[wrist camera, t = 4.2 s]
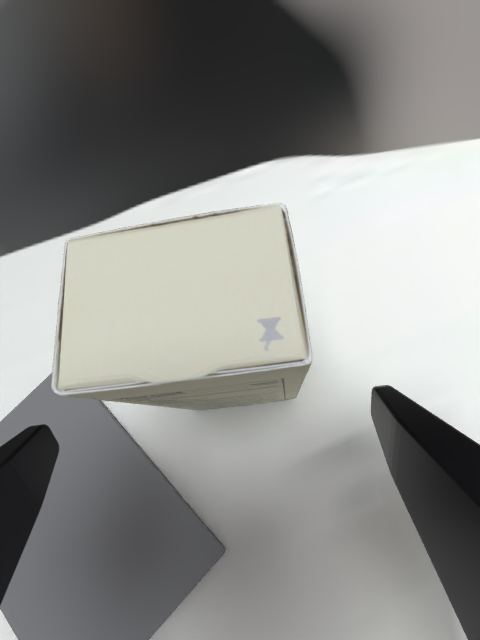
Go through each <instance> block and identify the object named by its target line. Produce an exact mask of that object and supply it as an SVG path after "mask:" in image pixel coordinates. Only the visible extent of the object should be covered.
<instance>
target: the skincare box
mask: <svg viewBox="0 0 480 640" xmlns="http://www.w3.org/2000/svg"><path fill="white" fill-rule="evenodd" d="M311 363H312V351H311V344H310V337H309V330H308V323H307V315H306V309H305V303H304V296H303V290H302V284H301V277H300V271H299V265H298V260H297V254H296V249H295V244H294V239H293V234H292V230H291V226H290V221H289V217H288V211H287V208H286V206H285V205H283V204H281V203H275V204H268V205H256V206H251V207H243V208H235V209H229V210H222V211H213V212H209V213H203V214H196V215H191V216H186V217H179V218H173V219H168V220H163V221H157V222H152V223H146V224H141V225H136V226H130V227H124V228H119V229H114V230H110V231H105V232H99V233H95V234H90V235H85V236H80V237H75V238H70V239H68V240H66V242H65V246H64V258H63V268H62V275H61V286H60V295H59V301H58V315H57V326H56V336H55V346H54V359H53V371H52V383H51V387H52V390H53V391H54V393H56V394H57V395H59V396H66V397H75V398H85V399H94V400H104V401H114V402H124V403H134V404H143V405H153V406H164V407H173V408H183V409H192V410H199V409H212V408H223V407H233V406H241V405H250V404H258V403H265V402H273V401H280V400H286V399H292V398H295V397H296V396H297V394H298V391H299V389H300V387H301V385H302V383H303V380H304V378H305V376H306V374H307V372H308V369H309V367H310V365H311Z"/></svg>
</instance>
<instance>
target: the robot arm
mask: <svg viewBox="0 0 480 640" xmlns="http://www.w3.org/2000/svg"><path fill="white" fill-rule="evenodd" d="M371 416H372V419H373V422H374V425H375V428H376V431H377V434H378V437H379V440H380V443H381V446H382V449H383V452H384V455H385V458H386V461H387V464H388V467H389V470H390V472H391V475H392V477H393V479H394V482H395V484H396V486H397V488H398V490H399V493H400V495H401V497H402V499H403V501H404V503H405V505H406V508H407V510H408V512H409V514H410V516H411V518H412V521H413V523H414V525H415V527H416V529H417V531H418V533H419V536H420V538H421V540H422V542H423V544H424V546H425V548H426V551H427V553H428V555H429V557H430V559H431V561H432V563H433V566H434V568H435V570H436V572H437V574H438V576H439V578H440V581H441V583H442V585H443V587H444V589H445V591H446V593H447V596H448V598H449V600H450V602H451V604H452V606H453V608H454V611H455V613H456V615H457V617H458V619H459V621H460V623H461V626H462V628H463V630H464V632H465V634H466V636H467V639H468V640H480V444H478V443H476V442H475V441H473V440H472V439H470V438H469V437H467V436H466V435H464V434H463V433H461V432H460V431H458V430H457V429H455V428H454V427H452V426H451V425H449V424H448V423H446V422H445V421H443V420H442V419H440V418H439V417H437V416H435V415H434V414H432V413H431V412H429V411H428V410H426V409H425V408H423V407H422V406H420V405H419V404H417V403H416V402H414V401H413V400H411V399H410V398H408V397H407V396H405V395H404V394H402V393H401V392H399V391H397V390H396V389H394V388H393V387H391V386H389V385H383V386H375V387H373V389H372V397H371ZM58 454H59V443H58V441H57V439H56V438H55V436H54V434H53V433H52V431H51V429H50V427H49V426H48V425H46V424H37V425H31V426H29V427H27V428H26V429H24V430H23V431H22V432H20V433H19V434H17V435H16V436H15V437H13V438H12V439H10V440H9V441H7V442H6V443H5V444H3V445H2V446H0V605H1V603H2V601H3V598H4V596H5V594H6V591H7V589H8V586H9V584H10V582H11V579H12V577H13V574H14V572H15V570H16V567H17V565H18V563H19V560H20V558H21V555H22V553H23V551H24V548H25V546H26V543H27V541H28V539H29V536H30V534H31V532H32V529H33V527H34V524H35V522H36V520H37V517H38V515H39V512H40V510H41V507H42V504H43V501H44V498H45V495H46V492H47V489H48V486H49V483H50V479H51V476H52V473H53V470H54V467H55V464H56V460H57V457H58Z"/></svg>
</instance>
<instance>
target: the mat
mask: <svg viewBox="0 0 480 640" xmlns="http://www.w3.org/2000/svg"><path fill="white" fill-rule="evenodd" d="M51 383H52V373H51V374H50V375H49V376H48V377H47V378H46V379H45V380H44V381H43V382H42V383H41V384H40V385H39V386H38V387H37V388H36V389H34V390H33V391H32V392H31V393H30V394H29V395H28V396H27V397H26V398H25V399H24V400H23V401H22V402H21V403H20V404H19V405H18V406H17V407H15V408H14V409H13V410H12V411H11V412H10V413H9V414H8V415H7V416H6V417H5V418H4V419H3V420H2V421H1V422H0V446H2V445H3V444H5V443H6V442H7V441H9V440H10V439H12V438H13V437H15V436H16V435H17V434H19V433H20V432H22V431H23V430H24V429H26V428H27V427H29V426H31V425H37V424H46V425H48V426H49V427H50V429H51V431H52V433H53V434H54V436H55V438H56V439H57V441H58V443H59V454H58V457H57V460H56V464H55V467H54V470H53V473H52V476H51V479H50V483H49V486H48V489H47V492H46V495H45V498H44V501H43V504H42V507H41V510H40V512H39V515H38V517H37V520H36V522H35V524H34V527H33V529H32V532H31V534H30V536H29V539H28V541H27V543H26V546H25V548H24V551H23V553H22V555H21V558H20V560H19V563H18V565H17V567H16V570H15V572H14V574H13V577H12V579H11V582H10V584H9V586H8V589H7V591H6V594H5V596H4V598H3V601H2V603H1V605H0V609H1V611H2V612H3V614H4V616H5V618H6V619H7V621H8V623H9V624H10V626H11V628H12V630H13V631H14V633H15V635H16V636H17V638H18V640H149V639H150V638H151V636H152V635H153V634H154V633H155V632H156V631H157V629H158V628H159V627H160V626H161V625H162V624H163V623H164V621H165V620H166V619H167V618H168V617H169V616H170V615H171V613H172V612H173V611H174V610H175V609H176V608H177V606H178V605H179V604H180V603H181V602H182V601H183V600H184V598H185V597H186V596H187V595H188V594H189V593H190V591H191V590H192V589H193V588H194V587H195V586H196V585H197V583H198V582H199V581H200V580H201V579H202V578H203V576H204V575H205V574H206V573H207V572H208V571H209V570H210V568H211V567H212V566H213V565H214V564H215V563H216V561H217V560H218V559H219V558H220V557H221V556H222V555H223V553H224V552H225V550H226V549H225V548H224V547H223V546H222V544H221V543H220V542H219V541H218V540H217V538H216V537H215V536H214V535H213V534H212V533H211V531H210V530H209V529H208V528H207V527H206V525H205V524H204V523H203V522H202V521H201V519H200V518H199V517H198V516H197V515H196V513H195V512H194V511H193V510H192V509H191V508H190V506H189V505H188V504H187V503H186V502H185V500H184V499H183V498H182V497H181V496H180V494H179V493H178V492H177V491H176V490H175V489H174V487H173V486H172V485H171V484H170V483H169V481H168V480H167V479H166V478H165V477H164V475H163V474H162V473H161V472H160V471H159V469H158V468H157V467H156V466H155V465H154V464H153V462H152V461H151V460H150V459H149V458H148V456H147V455H146V454H145V453H144V452H143V450H142V449H141V448H140V447H139V446H138V445H137V443H136V442H135V441H134V440H133V439H132V437H131V436H130V435H129V434H128V433H127V431H126V430H125V429H124V428H123V427H122V425H121V424H120V423H119V422H118V421H117V420H116V418H115V417H114V416H113V415H112V414H111V412H110V411H109V410H108V409H107V408H106V406H105V405H104V404H103V403H102V402H101V401H100V400H94V399H85V398H75V397H66V396H59V395H57V394H56V393H54V391H53V390H52V387H51Z"/></svg>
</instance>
